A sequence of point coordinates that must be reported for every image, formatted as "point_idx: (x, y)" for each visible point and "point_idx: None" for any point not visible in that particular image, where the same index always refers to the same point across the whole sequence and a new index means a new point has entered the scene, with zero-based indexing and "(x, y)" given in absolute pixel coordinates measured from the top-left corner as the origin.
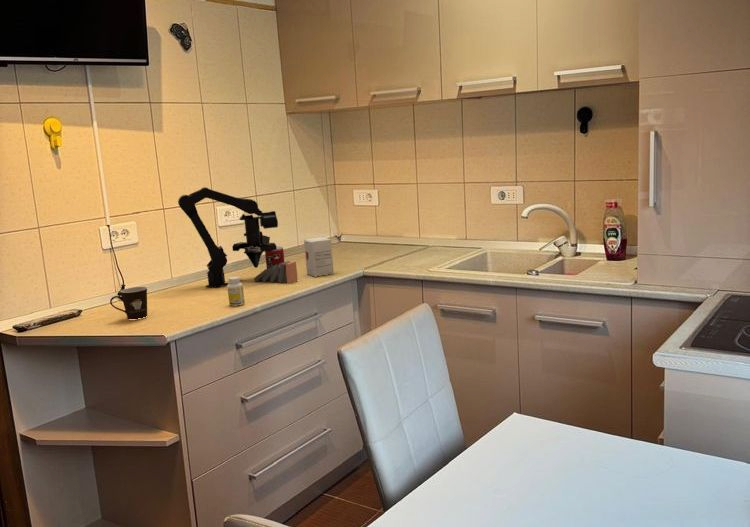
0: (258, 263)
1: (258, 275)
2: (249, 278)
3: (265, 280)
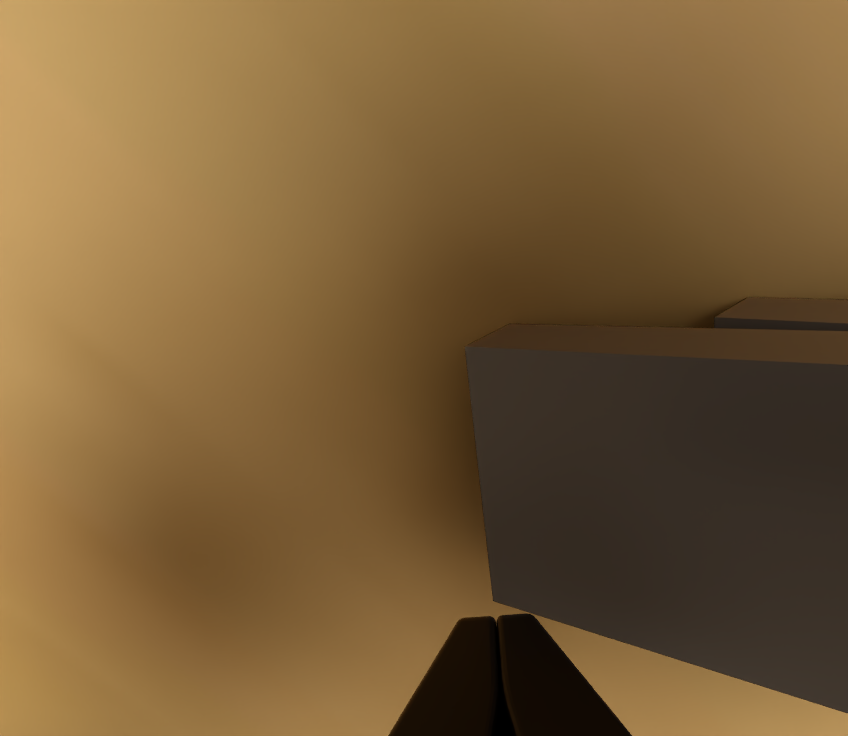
0: (602, 714)
1: (667, 645)
2: (130, 342)
3: None
